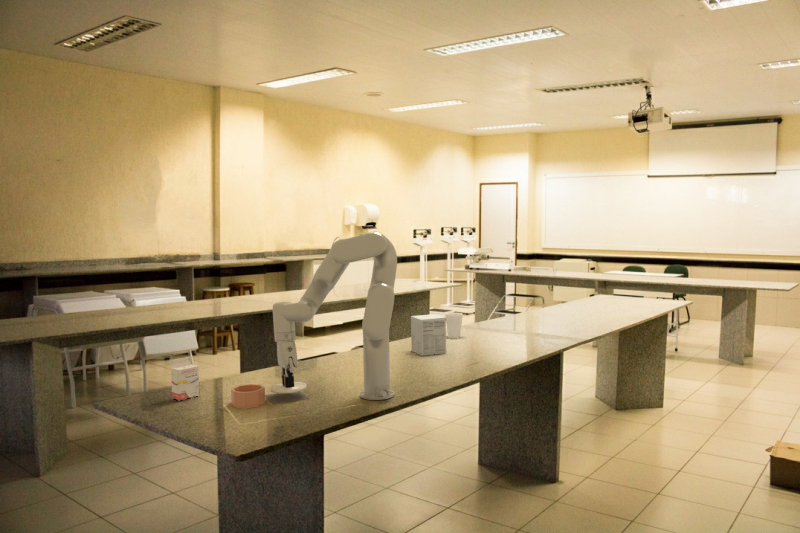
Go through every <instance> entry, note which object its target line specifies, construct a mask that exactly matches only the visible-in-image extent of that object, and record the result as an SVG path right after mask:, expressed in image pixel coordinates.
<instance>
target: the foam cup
mask: <svg viewBox="0 0 800 533" xmlns="http://www.w3.org/2000/svg"><path fill="white" fill-rule="evenodd" d="M444 317H445V318H446V332H447V337H448V338H449V339H453V340H454V339H460V338H461V332H462V322H463V313H461V312H446V313H445V315H444Z"/></svg>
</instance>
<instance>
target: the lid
mask: <svg viewBox="0 0 800 533" xmlns="http://www.w3.org/2000/svg"><path fill="white" fill-rule="evenodd" d="M285 377H286V375H285V374H284V385H285ZM307 387H308V386H307V382H303V381H294V387H290V388H286V387H285V386H283V384H282V382H280V383H276V384H273V385H271V386H270V392H271V393H272V394H276V393H293V392H298V391H300V392H301V391H304V390H306V389H307Z"/></svg>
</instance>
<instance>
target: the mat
mask: <svg viewBox="0 0 800 533" xmlns="http://www.w3.org/2000/svg"><path fill="white" fill-rule="evenodd" d="M265 399H268V400H269V401H270V402H271V403H272V404H273V405H279V404H284V403H291V402H297V401H305V400H310V398H309V397H308V396H306V395H305V394H303V393H302V392H301V391H298V392H293V393H269V394H265Z"/></svg>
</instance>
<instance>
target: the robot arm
mask: <svg viewBox="0 0 800 533" xmlns="http://www.w3.org/2000/svg"><path fill="white" fill-rule="evenodd" d="M396 251H397V250H396V249H395V246H394V245H393V243H392V242H391V240H389V238H388V237H387V236H386V235H384V234H383V233H381V232H380V231H370V232H367V233H364V234H361V235H357V236H353V237H352V236H351V237H348V238H340V239H338V240H335V242H334V243H333V244H332V245H331V248H330V249H329V250H328V253H327V254H326V255H325V257H324V259H323V260H322V262H321V263H320V265H319V266H318V267H317V269H316V270H315V273H314V274H313V277H312V279H311V282H310V284H309V285H308V287H307V289H306V290H305V292H304V293H303V295H302V297H301V298H300V299H299V301H298V302H291V301H278V302H276V303H274V304H273V305H272V319H273V320H272V321H273V334H274V335H273V336H274V342H276V356H277V364H278V366H280V368H281V380H282V382H281V383H282V384H283V386H285V387H286V388H290V387H294V382H295V374H294V373H295V368H298V367H299V363H298V361H299V360H298V354H297V346H296V340H297V338H296V337H297V336H296V323H307V322H310V321H311V320H312V319H313V318H314V316H315V315H316V313H317V312H318V311H319V309H320V307H321V305H322V304H323V302H324V301H325V299H326V297H327V296H328V294H329V293H331V291H332V290H333V289H334V288H335V287H336V285H337V283H338V282H339V281H340V279H341V277H342V275H344V273H345V271H346V269H347V268H348V266H349V265H350V263H355V262H359V261H362V260H366V259H370V258H373V266H372V272H371V273H372V274H371V280H370V283H369V288H368V290H367V295H366V296H367V297H366V301H365V307H364V313H363V319H362V323H361V324H362V325H361V326H362V327H361V330H362V349H363V350H362V351H363V352H362V354H363V356H362V358H363V361H362V362H363V390H361V391H360V392H359V397H360V398H362V399H364V400H369V401H381V400H383V401H385V400H388V399H392V398H393V397H395V391H394V390H392V389H391V381H390V380H391V370H390V366H391V365H390V361H391V360H390V326H391V320H392V316H393V309H394V304H395V289H394V288H395V282H396V276H397V275H396V274H397V268H398V256H397V255H398V254H397V252H396ZM284 374H285V375H286V377H285V385H284Z"/></svg>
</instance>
